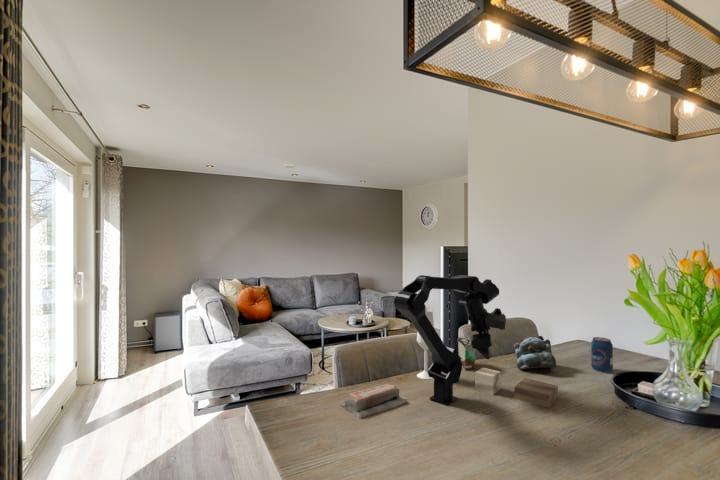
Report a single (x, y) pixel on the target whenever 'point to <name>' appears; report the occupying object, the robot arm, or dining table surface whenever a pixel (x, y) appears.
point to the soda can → (602, 355)
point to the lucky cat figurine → (534, 353)
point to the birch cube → (487, 381)
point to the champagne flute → (425, 348)
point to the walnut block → (536, 392)
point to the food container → (466, 353)
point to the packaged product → (373, 400)
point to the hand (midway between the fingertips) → (488, 350)
